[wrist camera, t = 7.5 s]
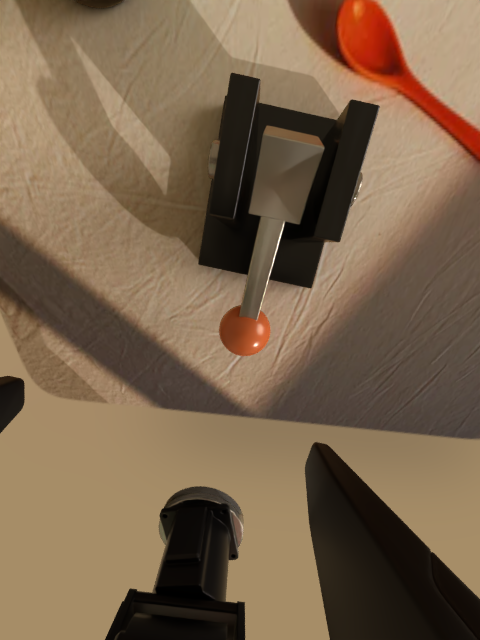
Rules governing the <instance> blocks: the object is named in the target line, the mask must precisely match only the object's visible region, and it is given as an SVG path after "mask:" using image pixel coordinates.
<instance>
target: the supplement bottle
mask: <svg viewBox="0 0 480 640" xmlns="http://www.w3.org/2000/svg"><path fill="white" fill-rule="evenodd" d="M74 1H76V2H77V3H80V4H82V5H85V6H89V7H94V8H106V7H111V6H114V5H117V4H119V3H121V2H122V1H124V0H74Z"/></svg>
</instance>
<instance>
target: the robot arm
mask: <svg viewBox="0 0 480 640" xmlns="http://www.w3.org/2000/svg"><path fill="white" fill-rule="evenodd" d="M23 405H24V381H23V380H22V379H21V378H16V377H11V376H4V377H0V433H1V432H2V431H3V430H4V428H5V427H6V426H7V425H8V424H9V423H10V422H11V421H12V420H13V418H14V417H15V416H16V415H17V414H18V413H19V412H20V411H21V409H22V408H23ZM305 477H306V489H307V502H308V514H309V524H310V531H311V537H312V542H313V548H314V554H315V559H316V565H317V570H318V576H319V581H320V587H321V592H322V597H323V603H324V609H325V614H326V620H327V625H328V631H329V636H330V640H480V599H479V598H478V597H477V596H476V595H475V594H474V593H473V592H472V591H471V590H470V589H469V588H468V587H467V586H466V585H465V584H464V583H463V582H462V581H461V580H460V579H459V578H458V577H457V576H456V575H455V574H454V573H453V572H452V571H451V570H450V569H449V568H448V567H447V566H446V565H445V564H444V563H443V562H442V561H441V560H440V559H439V558H438V557H437V556H436V555H435V554H434V553H433V552H431V551H430V549H429V548H428V547H427V546H426V545H425V544H424V543H423V542H422V541H421V540H420V539H419V537H418V536H417V535H416V534H415V533H414V532H413V531H412V530H411V529H409V527H408V526H407V525H406V524H405V523H404V522H403V521H402V520H401V519H400V518H399V517H398V516H397V515H396V514H395V513H394V512H393V511H392V510H391V509H390V508H389V507H388V506H387V505H386V504H385V503H384V502H383V501H382V500H381V499H380V498H379V497H378V496H377V495H376V494H375V493H374V492H373V491H372V489H370V487H369V486H368V485H367V484H366V483H365V482H364V481H362V479H361V478H360V477H359V476H358V475H357V474H356V473H355V472H354V471H353V470H352V469H351V468H350V467H349V466H348V465H347V464H346V463H345V462H344V461H343V460H342V459H341V458H340V457H339V456H338V455H337V454H336V453H335V452H334V451H333V450H332V449H331V448H330V447H329V446H328V445H326V444H322V443H317V442H315V443H314V444H313V445H312V448H311V450H310V453H309V456H308V459H307V462H306V465H305ZM160 519H161V523H162V526H163V529H164V533H165V536H166V540H167V543H166V546H165V550H164V553H163V557H162V560H161V564H160V567H159V571H158V574H157V578H156V581H155V585H154V589H153V592H152V593H149V592H140V591H137V589H129V591H128V593H127V596H126V598H125V600H124V601H123V602H122V604H121V606H120V608H119V610H118V612H117V614H116V617H115V619H114V621H113V623H112V625H111V628H110V630H109V632H108V634H107V636H106V639H105V640H245V602H239V601H238V602H237V603H233V602H226V587H227V573H228V561H229V560H236V559H237V558H238V546H237V541H236V536H235V531H234V526H233V521H232V516H231V511H230V507H229V505H228V504H225V503H222V504H209V505H197V506H184V507H171V508H163V509H162V510H161V513H160Z"/></svg>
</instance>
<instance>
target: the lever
mask: <svg viewBox="0 0 480 640" xmlns="http://www.w3.org/2000/svg"><path fill="white" fill-rule="evenodd" d="M323 152H324V145H323V144H322V142H321V141H320V139H319V137H318V136H313V135H309V134H304V133H300V132H295V131H291V130H286V129H282V128H277V127H273V126H268V125H267V126H266V128H265V130H264V132H263V135H262V140H261V146H260V151H259V156H258V162H257V167H256V173H255V178H254V183H253V189H252V194H251V200H250V205H249V210H248V213H249V214H253V215H258V216H260V221H259V226H258V230H257V235H256V239H255V244H254V249H253V253H252V258H251V262H250V267H249V272H248V276H247V281H246V285H245V290H244V295H243V299H242V304H241V305H239V306H236V307H233V308H232V309H230V310H229V311H228V312H227V313H226V314H225V315H224V316H223V318H222V320H221V322H220V327H219V334H220V338H221V341H222V343H223V345H224V346H225V347H226V348H227V349H228V350H229V351H230V352H232V353H234V354H236V355H240V356H250V355H253V354H256V353H258V352H259V351H261V350H262V349H263V348H264V347H265V345H266V344H267V342H268V340H269V337H270V324H269V321H268V319H267V317H266V315H265V314H264V313H263V312H262V311H261V310H260V309H261V306H262V302H263V299H264V295H265V292H266V288H267V285H268V281H269V277H270V274H271V270H272V267H273V263H274V260H275V256H276V253H277V249H278V246H279V242H280V238H281V235H282V231H283V228H284V224H285V221H286V222H291V223H295V224H300V223H301V220H302V217H303V214H304V211H305V208H306V204H307V201H308V198H309V195H310V192H311V189H312V186H313V183H314V180H315V176H316V173H317V170H318V167H319V164H320V161H321V158H322V155H323Z"/></svg>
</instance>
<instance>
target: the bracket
mask: <svg viewBox="0 0 480 640" xmlns="http://www.w3.org/2000/svg"><path fill="white" fill-rule="evenodd" d="M259 99H260V79H258V78H253V77H249V76H244V75H240V74H235V73H231V75H230V81H229V87H228V93H227V96H225V101H224V107H223V113H222V119H221V125H220V132H219V138H218V140H213V142H212V145H211V148H210V153H209V161H208V175H209V178H210V179H212V182H211V188H210V194H209V200H208V207H207V213H206V219H205V225H204V232H203V238H202V244H201V250H200V256H199V263H198V264H199V265H203V266H208V267H213V268H217V269H222V270H227V271H231V272H236V273H241V274H246V275H248V272H249V267H250V262H251V258H252V253H253V249H254V244H255V239H256V235H257V230H258V226H259V221H260V216H258V215H253V214H249V213H248V210H249V205H250V200H251V194H252V189H253V183H254V178H255V173H256V167H257V162H258V156H259V151H260V146H261V140H262V135H263V132H264V130H265V128H266V126H267V125H268V126H273V127H277V128H282V129H286V130H291V131H295V132H300V133H304V134H309V135H313V136H318V137H319V139H320V141H321V142H322V144H323V145H324V152H323V155H322V158H321V161H320V164H319V167H318V170H317V173H316V176H315V180H314V183H313V186H312V189H311V192H310V195H309V198H308V201H307V204H306V208H305V211H304V214H303V217H302V220H301V223H300V224H295V223H291V222H286V221H285V224H284V228H283V231H282V235H281V238H280V242H279V246H278V249H277V253H276V256H275V260H274V263H273V267H272V270H271V274H270V277H269V280H274V281H279V282H283V283H288V284H293V285H297V286H302V287H307V288H312V284H313V281H314V277H315V274H316V270H317V267H318V263H319V259H320V256H321V252H322V249H323V245H324V242H340V240H341V236H342V233H343V230H344V226H345V223H346V219H347V216H348V213H349V209H350V207H351V206H352V205H353V203H354V201H355V200H356V198H357V195H358V193H359V190H360V187H361V183H362V173H361V169H362V165H363V162H364V159H365V155H366V152H367V148H368V145H369V142H370V138H371V135H372V131H373V128H374V125H375V121H376V118H377V115H378V111H379V108H380V106H379V105H374V104H370V103H365V102H361V101H356V100H350V102H349V103H348V105H347V106H346V107H345V109H344V110H343V112H342V113H341V115H340V116H339V118H338V119H337V120H334V119H329V118H325V117H320V116H316V115H311V114H307V113H302V112H298V111H293V110H289V109H284V108H280V107H275V106H271V105H266V104H262V103H259Z"/></svg>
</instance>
